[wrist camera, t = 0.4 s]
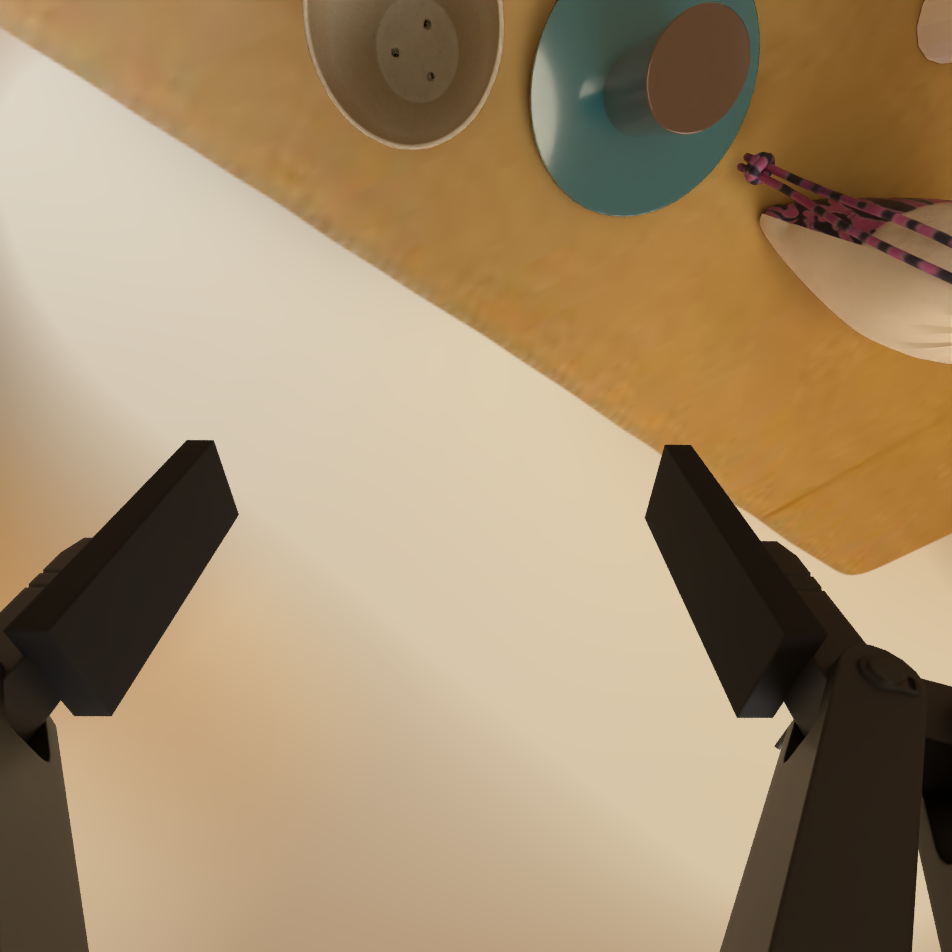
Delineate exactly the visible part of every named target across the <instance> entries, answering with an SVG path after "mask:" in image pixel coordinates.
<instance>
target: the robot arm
mask: <svg viewBox="0 0 952 952" xmlns="http://www.w3.org/2000/svg"><path fill="white" fill-rule="evenodd" d="M238 515H239V514H238V511H237V508H236V505H235V503H234V499H233V496H232V494H231V490H230V487H229V484H228V482H227V478H226V476H225V473H224V470H223V467H222V464H221V461H220V458H219V455H218V452H217V449H216V446H215V443H214V441H212V440H187V441H186V442H185V443H184V444H183V445H182V446H181V447H180V448H179V449H178V450H177V451H176V452H175V453H174V454H173V455H172V456H171V457H170V458H169V459H168V460H167V461H166V463H164V465H163V466H162V467H161V468H160V469H159V470H158V471H157V472H156V473H155V474H154V475H153V476H152V477H151V478H150V479H149V480H148V481H147V482H146V483H145V484H144V485H143V486H142V487H141V488H140V490H138V492H137V493H135V495H134V496H133V497H132V498H131V499H130V500H129V501H128V502H127V503H126V504H125V505H124V506H123V507H122V508H121V509H120V510H119V511H118V512H117V513H116V514H115V515H114V516H113V517H112V518H111V519H110V520H109V521H108V522H107V524H106V525H105V526H104V527H103V528H102V529H101V530H100V531H99V532H98V533H97V534H96V535H95V536H94V537H93V538H83V539H82V540H80V541H78V542H77V543H75V544H74V545H72V546H71V547H69V548H67V549H66V550H64V551H63V552H61V553H60V554H59V555H58V556H57V557H56V558H55V559H54V560H53V561H52V562H51V563H50V564H49V565H48V566H47V567H46V568H45V569H44V570H43V571H44V572H43V573H40V574H39V575H38V576H37V577H35V578H34V579H33V580H32V581H31V582H30V584H29V587H28V588H25V589H23V590H22V591H21V592H20V593H19V594H18V595H17V596H16V597H15V598H14V599H13V600H12V601H11V602H10V603H9V604H8V605H7V606H6V607H5V608H4V609H3V610H2V611H1V612H0V952H89V950H88V943H87V936H86V929H85V922H84V915H83V908H82V902H81V894H80V888H79V881H78V874H77V867H76V860H75V853H74V846H73V839H72V833H71V826H70V819H69V812H68V806H67V799H66V791H65V785H64V778H63V771H62V764H61V757H60V750H59V743H58V736H57V730H56V725H55V724H54V722H53V720H52V719H51V717H50V716H49V715H50V714H51V712H52V711H53V710H54V709H55V707H56V706H57V705H58V703H59V702H60V700H61V701H62V702H63V703H64V704H65V705H66V707H67V708H68V709H69V710H70V711H71V713H72V714H73V715H74V716H112V714H113V713H114V711H115V710H116V708H117V706H118V705H119V703H120V702H121V700H122V699H123V697H124V695H125V694H126V692H127V691H128V689H129V688H130V686H131V684H132V683H133V681H134V680H135V678H136V676H137V675H138V673H139V672H140V670H141V668H142V667H143V665H144V664H145V662H146V661H147V659H148V658H149V656H150V654H151V652H152V651H153V650H154V648H155V646H156V645H157V643H158V642H159V640H160V638H161V637H162V635H163V634H164V632H165V631H166V629H167V627H168V626H169V624H170V623H171V621H172V620H173V618H174V616H175V615H176V613H177V612H178V610H179V608H180V607H181V605H182V604H183V602H184V600H185V599H186V597H187V596H188V594H189V593H190V591H191V589H192V588H193V586H194V585H195V583H196V582H197V580H198V578H199V577H200V575H201V574H202V572H203V570H204V569H205V567H206V566H207V564H208V563H209V561H210V559H211V558H212V556H213V555H214V553H215V551H216V550H217V548H218V547H219V545H220V544H221V542H222V540H223V538H224V537H225V536H226V534H227V533H228V531H229V529H230V528H231V526H232V525H233V523H234V521H235V520H236V518H237V516H238ZM645 519H646V521H647V523H648V526H649V528H650V530H651V532H652V534H653V537H654V539H655V541H656V543H657V545H658V547H659V549H660V552H661V554H662V556H663V558H664V560H665V562H666V564H667V567H668V569H669V571H670V573H671V575H672V577H673V580H674V582H675V584H676V586H677V589H678V591H679V593H680V595H681V597H682V599H683V602H684V604H685V606H686V608H687V610H688V612H689V614H690V617H691V619H692V621H693V623H694V625H695V628H696V630H697V632H698V634H699V636H700V638H701V640H702V643H703V645H704V647H705V649H706V651H707V654H708V656H709V658H710V660H711V662H712V664H713V666H714V669H715V671H716V673H717V675H718V677H719V680H720V682H721V684H722V686H723V688H724V690H725V693H726V695H727V697H728V699H729V701H730V703H731V706H732V708H733V710H734V712H735V714H736V716H737V718H773V717H774V715H775V714H776V712H777V710H778V709H779V707H780V706H781V705H782V703H783V702H785V704H786V706H787V708H788V710H789V711H790V713H791V715H792V717H793V719H794V720H793V721H792V722H791V724H790V725H789V727H788V728H787V729H786V731H785V732H784V734H783V735H782V736H781V738H780V739H779V741H778V742H777V743H776V745H775V747H776V748H778V749H781V752H780V755H779V759H778V762H777V765H776V768H775V771H774V775H773V778H772V781H771V785H770V788H769V791H768V795H767V798H766V801H765V805H764V808H763V812H762V814H761V818H760V821H759V824H758V828H757V831H756V834H755V838H754V841H753V844H752V847H751V851H750V854H749V857H748V861H747V864H746V867H745V870H744V874H743V877H742V880H741V883H740V887H739V890H738V893H737V897H736V900H735V903H734V907H733V910H732V913H731V916H730V920H729V923H728V926H727V930H726V933H725V937H724V940H723V943H722V946H721V949H720V952H912V939H913V923H914V907H915V891H916V876H917V861H918V849H919V853H920V858H921V862H922V866H923V871H924V876H925V880H926V884H927V889H928V893H929V898H930V903H931V907H932V912H933V916H934V921H935V925H936V930H937V934H938V939H939V943H940V947H941V952H952V687H951V686H947V685H944V684H940V683H936V682H932V681H928V680H925V679H921V678H920V677H919V676H918V674H917V673H916V671H914V670H913V669H912V668H911V667H910V666H909V665H907V664H906V663H905V662H904V661H903V660H901V659H900V658H898V657H896V656H895V655H893V654H891V653H889V652H888V651H886V650H883V649H880V648H877V647H874V646H871V645H867V644H866V643H865V642H864V641H863V640H862V638H861V637H860V636H859V634H858V633H857V632H856V631H855V629H854V628H853V627H852V626H851V624H850V623H849V622H848V620H847V619H846V618H845V617H844V615H843V614H842V613H841V612H840V611H839V609H838V608H837V607H836V605H835V604H834V603H833V601H832V600H831V599H830V598H829V596H828V595H827V594H826V592H825V591H822V590H821V586H820V585H819V584H818V583H817V581H816V580H815V579H814V577H811V576H810V572H809V571H808V570H807V568H806V567H805V566H804V565H803V563H802V562H801V561H800V559H799V558H798V557H797V556H796V555H795V554H793V553H792V552H790V551H789V550H788V549H786V548H785V547H784V546H782V545H781V544H780V543H778V542H777V541H760V540H759V538H758V537H757V536H756V534H755V533H754V532H753V530H752V529H751V527H750V526H749V525H748V523H747V522H746V520H745V519H744V518H743V516H742V515H741V513H740V512H739V511H738V509H737V508H736V507H735V505H734V504H733V502H732V501H731V500H730V498H729V497H728V496H727V494H726V493H725V491H724V490H723V489H722V487H721V486H720V485H719V483H718V482H717V480H716V479H715V478H714V476H713V475H712V473H711V472H710V471H709V469H708V468H707V467H706V465H705V464H704V462H703V461H702V460H701V458H700V457H699V456H698V454H697V453H696V451H695V450H694V449H693V447H692V446H691V445H665V446H664V450H663V454H662V457H661V461H660V465H659V468H658V472H657V476H656V479H655V483H654V486H653V490H652V494H651V497H650V501H649V505H648V508H647V512H646V516H645Z"/></svg>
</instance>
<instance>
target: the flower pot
mask: <svg viewBox="0 0 952 952" xmlns="http://www.w3.org/2000/svg"><path fill="white" fill-rule="evenodd" d="M303 19H304V28H305V35H306V40H307V44H308V49H309V52H310V55H311V59H312V61H313V64H314V67H315V70H316V72H317V74H318V77H319V79H320V81H321V83H322V85H323V87H324V89H325V91H326V92H327V94H328V96H329V97H330V99H331V100H332V102H333V103H334V105H335V106H336V107H337V109H338V110H339V111H340V112H341V114H342V115H343V116H344V117H345V118H346V119H347V120H348V121H349V122H350V123H351V124H352V125H353V126H354V127H355V128H357V129H358V130H359V131H360V132H362V133H363V134H365V135H367V136H368V137H370V138H372V139H373V140H375V141H377V142H379V143H382V144H384V145H387V146H390V147H394V148H398V149H406V150H418V149H426V148H430V147H434V146H437V145H439V144H442V143H444V142H446V141H448V140H450V139H451V138H453V137H454V136H456V135H457V134H459V133H460V132H461V131H462V130H464V129H465V128H466V127H467V126H468V125H469V124H470V123H471V121H472V120H473V119H474V118H475V117H476V115H477V114H478V113H479V111H480V110H481V108H482V107H483V105H484V104H485V102H486V100H487V98H488V96H489V94H490V92H491V89H492V87H493V85H494V82H495V79H496V76H497V73H498V70H499V65H500V61H501V56H502V49H503V40H504V11H503V0H303ZM425 21H427V26H426V27H424V22H425ZM394 54H398V55H399V56H398V57H394ZM431 73H433V75H434V78H432V77H431Z"/></svg>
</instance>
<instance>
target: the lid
mask: <svg viewBox="0 0 952 952" xmlns="http://www.w3.org/2000/svg"><path fill="white" fill-rule="evenodd" d="M759 53H760V38H759V25H758V16H757V11H756V7H755V3H754V0H557V2H556V4H555V6H554V7H553V9H552V11H551V13H550V15H549V17H548V19H547V22H546V24H545V26H544V29H543V31H542V33H541V36H540V39H539V43H538V46H537V49H536V52H535V57H534V62H533V67H532V72H531V81H530V118H531V127H532V131H533V136H534V140H535V144H536V147H537V150H538V152H539V155H540V158H541V160H542V162H543V164H544V166H545V168H546V170H547V172H548V173H549V175H550V176H551V178H552V179H553V181H554V182H555V183H556V184H557V186H558V187H559V188H560V189H561V190H562V191H563V192H564V193H565V194H566V195H567V196H569V197H570V198H571V199H572V200H573V201H575V202H577V203H578V204H580V205H582V206H583V207H585V208H587V209H589V210H592V211H594V212H597V213H600V214H605V215H609V216H621V217H625V216H637V215H641V214H646V213H650V212H653V211H656V210H658V209H661V208H663V207H665V206H667V205H669V204H671V203H673V202H675V201H677V200H678V199H680V198H681V197H683V196H684V195H686V194H687V193H689V192H690V191H691V190H692V189H693V188H695V187H696V186H697V185H698V184H699V183H701V182H702V181H703V179H704V178H705V177H706V176H707V175H708V174H709V173H710V172H711V171H712V170H713V169H714V168H715V166H716V165H717V164H718V163H719V161H720V160H721V159H722V158H723V156H724V155H725V153H726V151H727V150H728V148H729V147H730V145H731V144H732V142H733V140H734V138H735V136H736V135H737V133H738V131H739V129H740V127H741V125H742V122H743V120H744V118H745V115H746V113H747V110H748V108H749V104H750V101H751V98H752V94H753V91H754V87H755V82H756V77H757V72H758V63H759Z"/></svg>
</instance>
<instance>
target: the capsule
mask: <svg viewBox="0 0 952 952" xmlns="http://www.w3.org/2000/svg"><path fill="white" fill-rule="evenodd" d="M917 35H918V46H919V48H920V50H921V51H922V52H923V54H924V55H925V57H926V58H927V59H928V60H931V61H934V62H937V63H940V64H944V63H950V62H952V0H925V1H924V3H923V5H922V9H921V13H920V17H919V21H918V25H917Z"/></svg>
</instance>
